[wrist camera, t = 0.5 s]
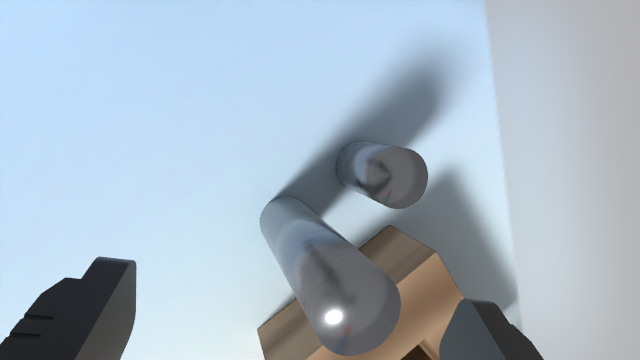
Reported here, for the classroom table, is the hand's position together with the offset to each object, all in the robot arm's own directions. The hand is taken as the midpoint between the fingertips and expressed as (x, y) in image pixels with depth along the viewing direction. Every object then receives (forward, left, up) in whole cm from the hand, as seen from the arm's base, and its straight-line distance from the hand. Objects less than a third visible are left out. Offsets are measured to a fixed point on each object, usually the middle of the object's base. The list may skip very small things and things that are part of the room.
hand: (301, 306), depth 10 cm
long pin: (+5, +1, -20) cm, 21 cm away
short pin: (+5, +9, -21) cm, 23 cm away
